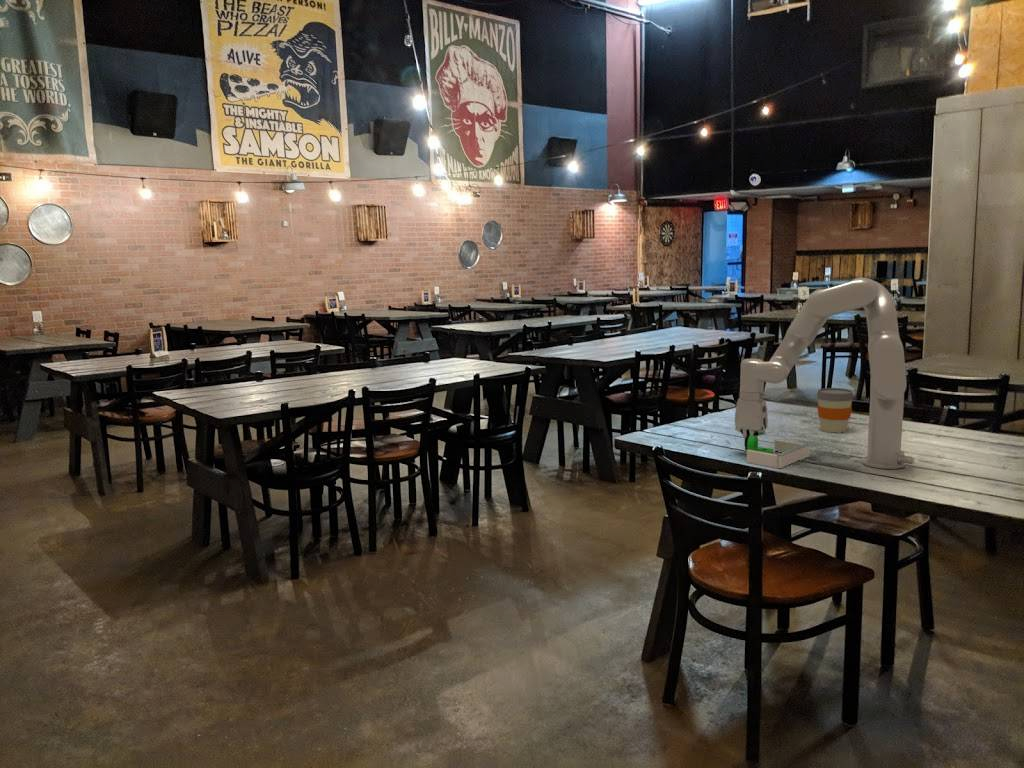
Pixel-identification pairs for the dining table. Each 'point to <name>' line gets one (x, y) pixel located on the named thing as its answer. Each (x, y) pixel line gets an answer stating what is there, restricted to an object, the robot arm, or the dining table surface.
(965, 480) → the dining table surface
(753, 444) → the mechanical part
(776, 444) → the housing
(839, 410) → the reusable coffee cup
